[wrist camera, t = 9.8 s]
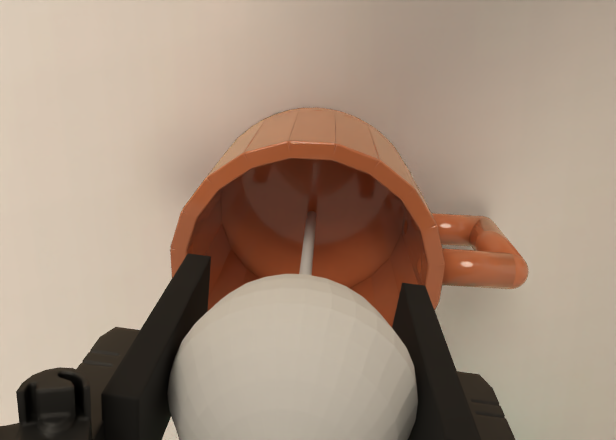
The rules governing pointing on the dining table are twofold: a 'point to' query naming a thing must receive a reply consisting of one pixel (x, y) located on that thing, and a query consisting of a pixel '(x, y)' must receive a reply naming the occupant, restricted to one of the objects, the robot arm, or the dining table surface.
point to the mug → (333, 216)
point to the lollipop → (293, 365)
